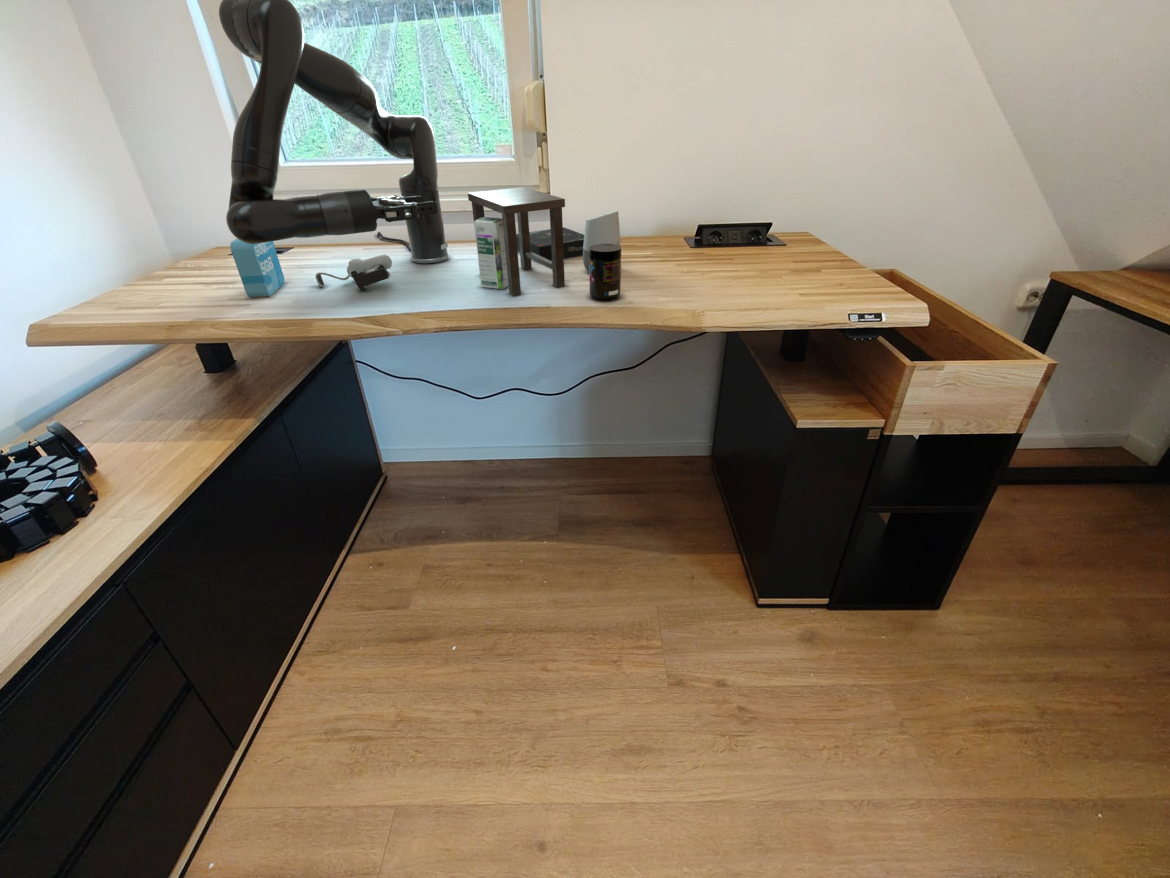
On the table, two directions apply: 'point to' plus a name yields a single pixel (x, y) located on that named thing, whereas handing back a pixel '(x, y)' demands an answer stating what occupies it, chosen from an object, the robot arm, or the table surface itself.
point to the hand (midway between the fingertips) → (429, 204)
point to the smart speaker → (600, 233)
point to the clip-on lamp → (364, 271)
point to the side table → (524, 229)
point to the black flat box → (542, 243)
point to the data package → (258, 267)
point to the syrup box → (491, 252)
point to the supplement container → (605, 271)
